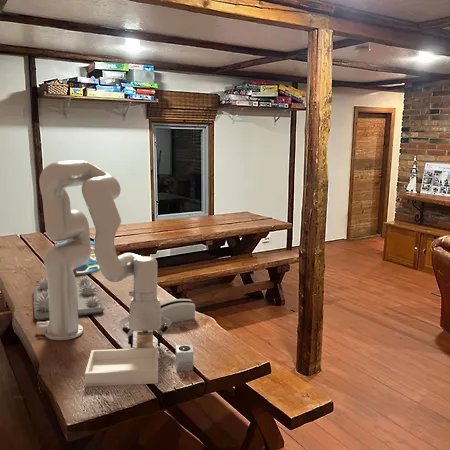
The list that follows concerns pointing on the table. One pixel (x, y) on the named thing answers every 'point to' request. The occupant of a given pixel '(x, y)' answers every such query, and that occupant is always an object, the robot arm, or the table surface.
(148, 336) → the maple block
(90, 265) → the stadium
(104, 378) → the sorting tray
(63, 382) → the table surface
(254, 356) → the table surface
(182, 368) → the grey block
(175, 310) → the grey rounded slab
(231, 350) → the table surface
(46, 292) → the decorative tray
